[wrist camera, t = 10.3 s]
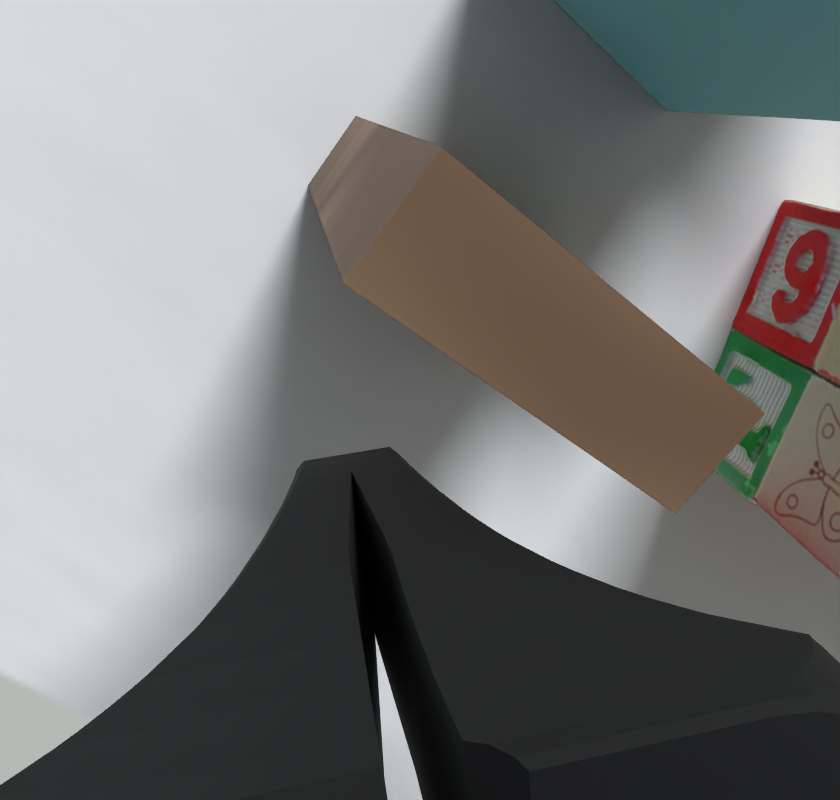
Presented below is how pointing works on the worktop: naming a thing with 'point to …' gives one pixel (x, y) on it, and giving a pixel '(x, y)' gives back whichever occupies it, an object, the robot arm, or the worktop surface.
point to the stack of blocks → (792, 379)
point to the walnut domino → (522, 312)
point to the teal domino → (724, 52)
